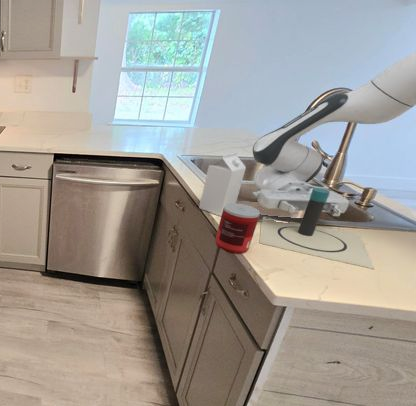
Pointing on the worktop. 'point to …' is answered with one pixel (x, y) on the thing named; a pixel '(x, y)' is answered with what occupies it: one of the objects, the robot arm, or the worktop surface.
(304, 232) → the marker
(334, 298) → the worktop surface
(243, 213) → the canned food
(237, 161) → the milk carton
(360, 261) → the paper pad
